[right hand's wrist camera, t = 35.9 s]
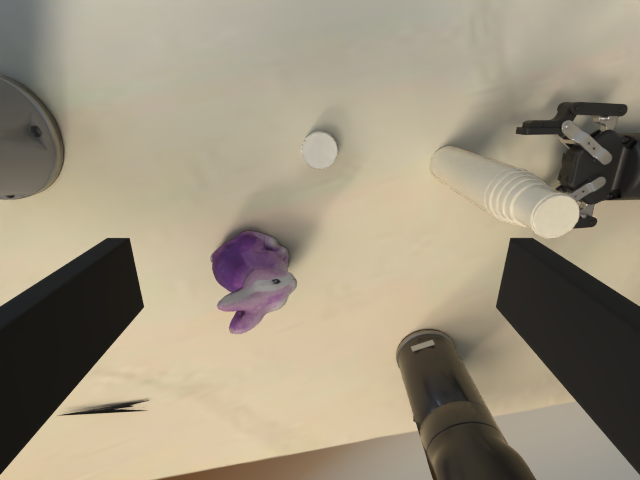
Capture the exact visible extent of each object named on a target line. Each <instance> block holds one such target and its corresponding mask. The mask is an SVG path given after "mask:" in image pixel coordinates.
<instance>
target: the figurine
mask: <svg viewBox="0 0 640 480" xmlns="http://www.w3.org/2000/svg"><path fill="white" fill-rule="evenodd" d="M210 259H211V261H212V262H213V264H212V270H213V273H214V276H215V278H216V280H217V281H218V283H219V284H220V285H221V286H223V287H224V288H226V289H227V290H228V291H230V292H232V293H230V294H228V295H226V296H225V297H224V298H222V299H221V300H220V301H219V302H218V305H217V307H218V309H220V310H222V311H227V312H229V311H237V312H236V313H235V315H234V317H233V319H232V321H231V323H230V326H229V330H230V332H231V333H232V334H242V333H245V332H247V331H249V330H251V329H252V328H254V327H255V326H256V325H257V324H258V323H259V322H260V321H261V320H262V318H263V317H264V315H265V314H266V313H269V312H272V311H275V310H278V309H280V308H281V307H283V306H284V305H285V303H286V302H287V299H288V296H289V295H290V294H291V293H292V292H293V291H294V290H295V288H296V286H297V281H296V279H295V277H294V276H293V275H292V274H291V273H290V272H288V270H287V268H288V261H289V260H288V259H289V253H288V251H287V249H286V248H284V247H282V246H280V245H279V244H278V242H277V241H276V240H275V239H274V238H273V237H271V236H268V235H265V234H262V233H259V232H255V231H254V232H253V231H245V232H242V233H241V234H240V235H239V236H237V237H236V238H234V239H232V240H230V241H228V242H226V243H224V244H223V245H222V246H221V247H220V248H218V249H217V250H216V251H215V252H214V253H213V254H212V255H211V258H210Z"/></svg>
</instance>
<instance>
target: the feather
mask: <svg viewBox="0 0 640 480" xmlns="http://www.w3.org/2000/svg"><path fill="white" fill-rule="evenodd" d="M148 401H149V400H148ZM142 402H145V401H142ZM137 403H141V402H136V403H129V404H123V405H117V406H111V407H105V408H99V409H93V410H87V411H81V412H75V413H69V414H63V415H78V414H96V413H114V412H133V411H147V410H140V409H139V410H123V409H120V410H115V409H119V408H125V407H133V404H137ZM130 405H132V406H130ZM144 408H145V407H144ZM133 409H134V408H133ZM57 416H59V415H57Z"/></svg>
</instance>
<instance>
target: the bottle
mask: <svg viewBox="0 0 640 480" xmlns="http://www.w3.org/2000/svg"><path fill="white" fill-rule="evenodd" d="M430 171H431V174H432V175H433V177H434V178H435V179H437V180H438V181H440V182H441V183H443V184H444V185H446V186H447V187H449V188H450V189H452V190H453V191H455V192H456V193H458V194H459V195H461V196H462V197H464V198H465V199H467V200H468V201H470V202H471V203H473V204H474V205H476V206H478V207H479V208H481V209H482V210H484V211H485V212H487V213H488V214H490V215H491V216H493V217H494V218H496V219H499V220H501V221H503V222H507V223H510V224H514V225H519V226H521V227H528V228H529V229H531V230H533V231H534V232H535V234H537V235H538V236H541V237H543V238H549V239H551V238H557V237H560V236H563V235H564V234H566V233H567V232H569V231H570V230H571V229H572V228H573V227H574V226H575V224H576V223H577V222H578V219H579V206H578V204H577V202H576V201H575V200H574V199H573V198H572V197H571V196H569V195H567V194H565V193H558V192H556V191H554V190H553V189H552V188H551V187H550V186H548V185H547V184H546V183H544V182H543V181H542V180H541V179H539V178H538V177H537V176H535V175H534V174H532V173H530V172H528V171H527V170H524V169H521V168H518V167H515V166H512V165H509V164H506V163H503V162H500V161H497V160H494V159H491V158H488V157H485V156H482V155H479V154H476V153H473V152H470V151H467V150H464V149H461V148H458V147H455V146H445V147H442V148H440V149H439V150H438V151H436V152H435V153H434V155H433V156H432V158H431V161H430Z"/></svg>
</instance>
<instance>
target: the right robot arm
mask: <svg viewBox="0 0 640 480" xmlns="http://www.w3.org/2000/svg"><path fill="white" fill-rule="evenodd" d="M62 163H63V144H62V139H61V135H60V132H59V129H58V127H57V125H56V122H55V121H54V119H53V117H52V115H51V114H50V112H49V111H48V109H47V108H46V107H45V105H44V104H43V103H42V102H41V101H40V100H39V99H38V98H37V97H36V96H35V95H34V94H33V93H32V92H31V91H29V90H28V89H27V88H25V87H24V86H23V85H21V84H19V83H18V82H16V81H14V80H12V79H10V78H8V77H5V76H3V75H0V199H4V200H9V199H20V198H25V197H28V196H31V195H34V194H37V193H40V192H42V191H44V190H45V189H47V188H48V187H49V186H50V185H51V184H52V183H53V182H54V181H55V180H56V178H57V177H58V175H59V173H60V170H61V167H62ZM143 308H144V305H143V300H142V295H141V290H140V286H139V281H138V276H137V271H136V267H135V262H134V257H133V252H132V248H131V243H130V238H107V239H105V240H103V241H102V242H100V243H99V244H97V245H96V246H94V247H93V248H91V249H89V250H88V251H86V252H85V253H83V254H82V255H80V256H79V257H77V258H75V259H74V260H72V261H71V262H69V263H68V264H66V265H64V266H63V267H61V268H60V269H58V270H57V271H55V272H54V273H52V274H50V275H49V276H47V277H46V278H44V279H43V280H41V281H39V282H38V283H36V284H35V285H33V286H32V287H30V288H29V289H27V290H25V291H24V292H22V293H21V294H19V295H18V296H16V297H14V298H13V299H11V300H10V301H8V302H7V303H5V304H4V305H2V306H0V474H1V473H2V472H3V471H4V470H5V469H6V467H7V466H8V465H9V464H10V463H11V462H12V460H13V459H14V458H15V457H16V456H17V455H18V453H19V452H20V451H21V450H22V449H23V448H24V446H25V445H26V444H27V443H28V442H29V441H30V439H31V438H32V437H33V436H34V435H35V434H36V432H37V431H38V430H39V429H40V428H41V427H42V425H43V424H44V423H45V422H46V421H47V420H48V418H49V417H50V416H51V415H52V414H53V413H54V411H55V410H56V409H57V408H58V407H59V406H60V404H61V403H62V402H63V401H64V400H65V399H66V397H67V396H68V395H69V394H70V393H71V392H72V391H73V389H74V388H75V387H76V386H77V385H78V384H79V382H80V381H81V380H82V379H83V378H84V377H85V375H86V374H87V373H88V372H89V371H90V370H91V368H92V367H93V366H94V365H95V364H96V363H97V361H98V360H99V359H100V358H101V357H102V356H103V354H104V353H105V352H106V351H107V350H108V349H109V347H110V346H111V345H112V344H113V343H114V342H115V340H116V339H117V338H118V337H119V336H120V335H121V333H122V332H123V331H124V330H125V329H126V328H127V326H128V325H129V324H130V323H131V322H132V321H133V319H134V318H135V317H136V316H137V315H138V314H139V312H140V311H141V310H142V309H143ZM496 308H497V309H498V310H499V311H500V312H501V314H502V315H503V316H504V317H505V318H506V319H507V321H508V322H509V323H510V324H511V325H512V326H513V328H514V329H515V330H516V331H517V332H518V333H519V335H520V336H521V337H522V338H523V339H524V340H525V342H526V343H527V344H528V345H529V346H530V347H531V349H532V350H533V351H534V352H535V353H536V354H537V356H538V357H539V358H540V359H541V360H542V361H543V363H544V364H545V365H546V366H547V367H548V368H549V370H550V371H551V372H552V373H553V374H554V375H555V377H556V378H557V379H558V380H559V381H560V382H561V384H562V385H563V386H564V387H565V388H566V389H567V391H568V392H569V393H570V394H571V395H572V396H573V398H574V399H575V400H576V401H577V402H578V403H579V404H580V406H581V407H582V408H583V409H584V410H585V411H586V413H587V414H588V415H589V416H590V417H591V418H592V420H593V421H594V422H595V423H596V424H597V425H598V427H599V428H600V429H601V430H602V431H603V432H604V434H605V435H606V436H607V437H608V438H609V439H610V441H611V442H612V443H613V444H614V445H615V446H616V448H617V449H618V450H619V451H620V452H621V453H622V455H623V456H624V457H625V458H626V459H627V460H628V462H629V463H630V464H631V465H632V466H633V467H634V469H635V470H636V471H637V472H638V473H639V474H640V306H638V305H636V304H635V303H633V302H632V301H630V300H629V299H627V298H626V297H624V296H622V295H621V294H619V293H618V292H616V291H615V290H613V289H611V288H610V287H608V286H607V285H605V284H604V283H602V282H601V281H599V280H597V279H596V278H594V277H593V276H591V275H590V274H588V273H586V272H585V271H583V270H582V269H580V268H579V267H577V266H576V265H574V264H572V263H571V262H569V261H568V260H566V259H565V258H563V257H561V256H560V255H558V254H557V253H555V252H554V251H552V250H551V249H549V248H547V247H546V246H544V245H543V244H541V243H540V242H538V241H537V240H535V239H533V238H510V243H509V248H508V252H507V257H506V262H505V267H504V271H503V276H502V281H501V286H500V290H499V295H498V300H497V305H496Z"/></svg>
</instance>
